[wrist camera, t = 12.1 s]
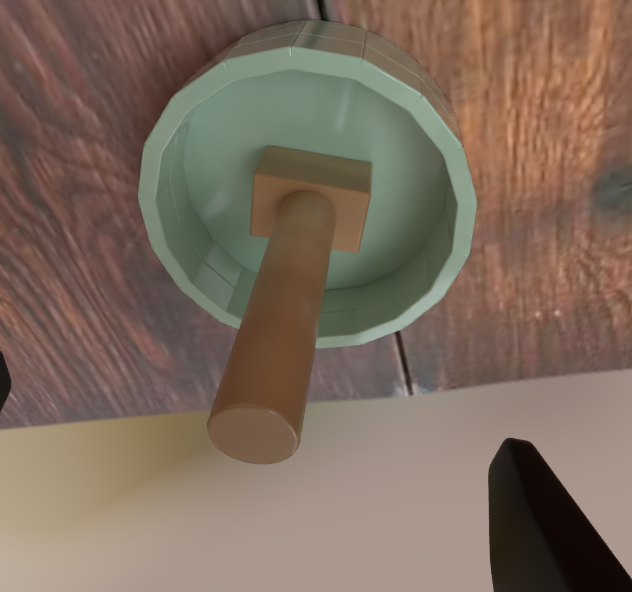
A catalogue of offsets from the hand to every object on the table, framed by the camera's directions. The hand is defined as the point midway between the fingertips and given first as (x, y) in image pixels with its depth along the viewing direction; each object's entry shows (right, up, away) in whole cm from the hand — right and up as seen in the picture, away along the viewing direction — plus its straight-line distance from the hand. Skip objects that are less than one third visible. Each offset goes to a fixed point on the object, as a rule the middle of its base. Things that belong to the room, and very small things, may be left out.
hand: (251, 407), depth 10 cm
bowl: (+1, +6, +7) cm, 9 cm away
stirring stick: (+1, +5, +7) cm, 9 cm away
